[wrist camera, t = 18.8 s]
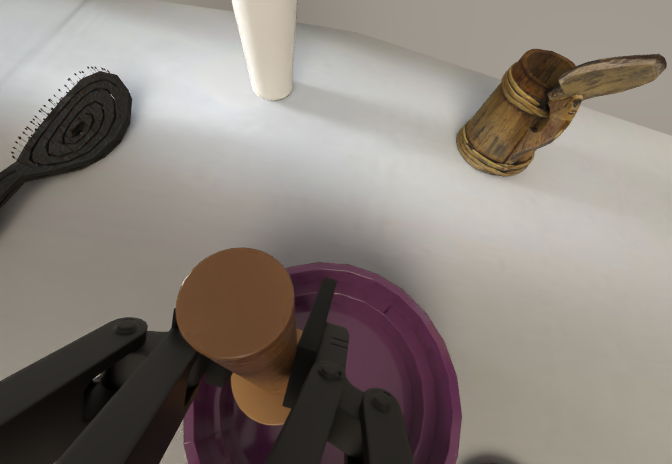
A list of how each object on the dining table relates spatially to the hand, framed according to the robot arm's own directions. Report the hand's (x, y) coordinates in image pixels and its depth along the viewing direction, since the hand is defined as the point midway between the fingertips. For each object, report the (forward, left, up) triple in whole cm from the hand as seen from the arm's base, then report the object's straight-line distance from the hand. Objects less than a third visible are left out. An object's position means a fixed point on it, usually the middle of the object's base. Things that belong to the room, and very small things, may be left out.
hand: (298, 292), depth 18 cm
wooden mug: (+30, +8, -11) cm, 33 cm away
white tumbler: (+10, +30, -11) cm, 33 cm away
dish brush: (-3, -3, -7) cm, 8 cm away
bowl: (0, -5, -11) cm, 12 cm away
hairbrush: (-16, +26, -11) cm, 33 cm away
